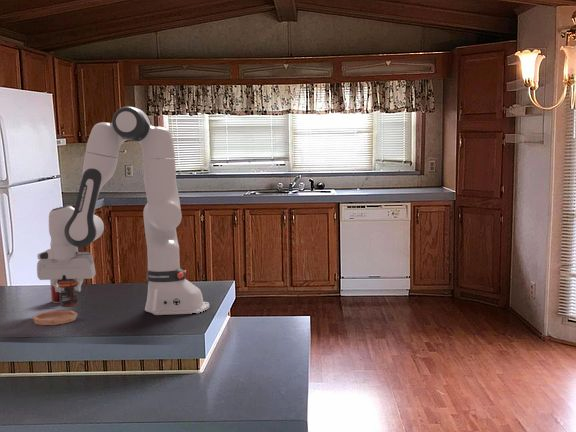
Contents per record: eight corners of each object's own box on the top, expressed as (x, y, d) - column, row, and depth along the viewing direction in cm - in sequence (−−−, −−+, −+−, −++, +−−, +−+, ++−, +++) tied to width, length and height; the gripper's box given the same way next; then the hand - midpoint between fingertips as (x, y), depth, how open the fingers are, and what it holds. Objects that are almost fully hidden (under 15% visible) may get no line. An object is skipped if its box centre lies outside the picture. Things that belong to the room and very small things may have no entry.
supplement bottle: (78, 303, 217) (76, 271, 217) (77, 306, 212) (75, 274, 211) (61, 304, 216) (58, 273, 215) (59, 308, 210) (56, 276, 209)
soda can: (75, 299, 234) (73, 268, 233) (66, 303, 227) (64, 271, 226) (57, 299, 235) (55, 268, 234) (47, 303, 228) (46, 271, 227)
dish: (82, 315, 208) (82, 310, 208) (64, 325, 195) (64, 320, 195) (46, 315, 209) (46, 310, 209) (26, 325, 196) (25, 319, 196)
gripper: (96, 250, 214) (100, 288, 215) (42, 252, 217) (46, 290, 218) (88, 253, 208) (92, 292, 209) (32, 255, 210) (36, 294, 212)
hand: (68, 291), depth 213 cm, fingers open, 6 cm apart
